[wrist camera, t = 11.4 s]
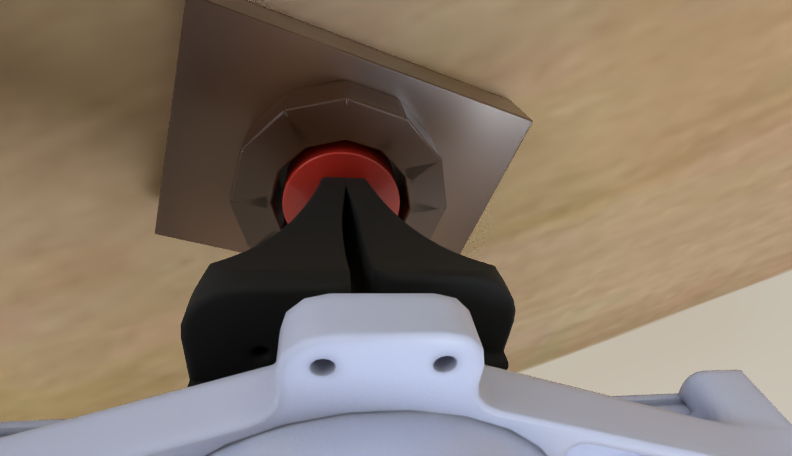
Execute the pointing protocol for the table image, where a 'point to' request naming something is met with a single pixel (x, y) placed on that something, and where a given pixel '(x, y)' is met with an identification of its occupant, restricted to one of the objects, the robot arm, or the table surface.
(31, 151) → the table surface
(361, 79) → the button block
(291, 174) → the button
